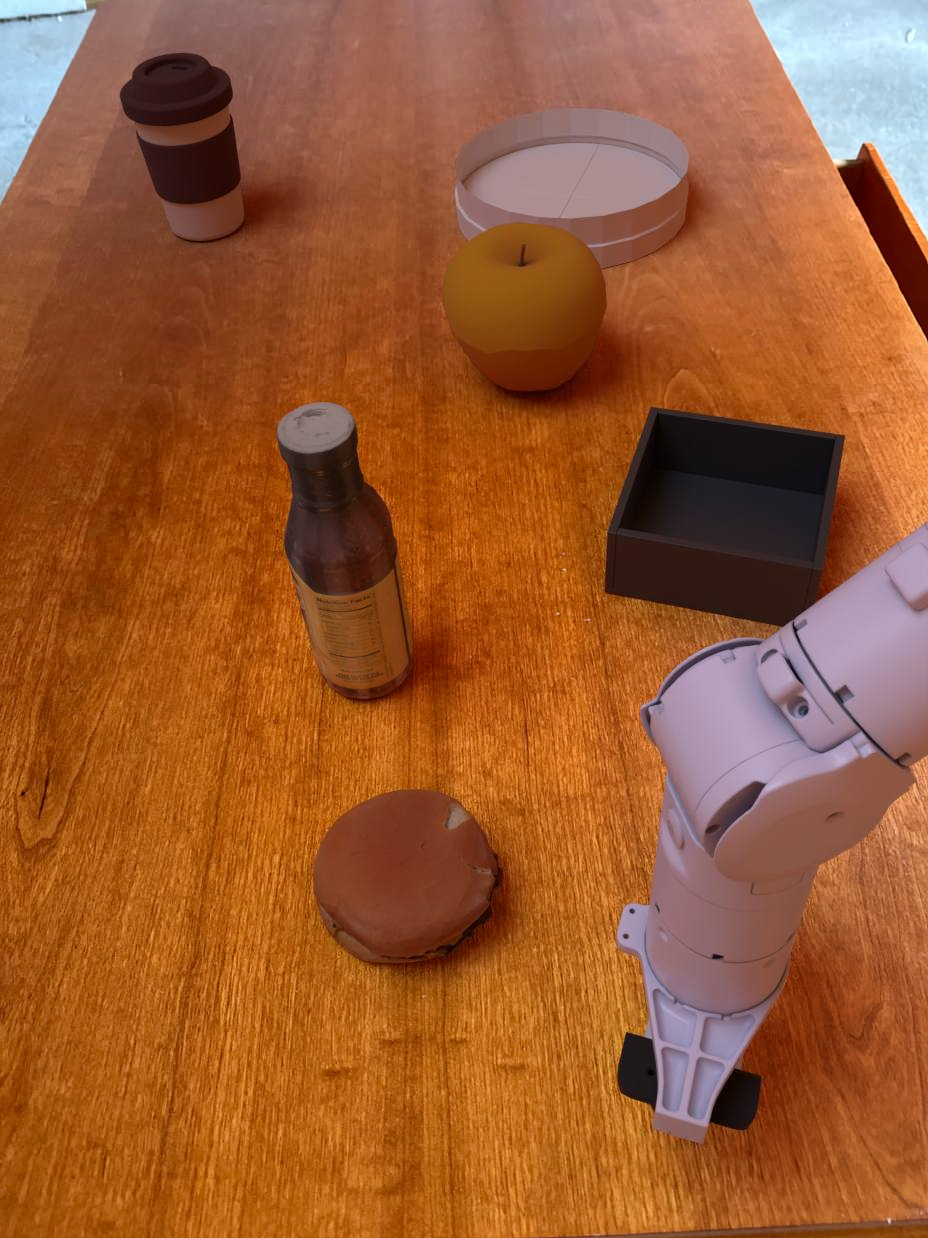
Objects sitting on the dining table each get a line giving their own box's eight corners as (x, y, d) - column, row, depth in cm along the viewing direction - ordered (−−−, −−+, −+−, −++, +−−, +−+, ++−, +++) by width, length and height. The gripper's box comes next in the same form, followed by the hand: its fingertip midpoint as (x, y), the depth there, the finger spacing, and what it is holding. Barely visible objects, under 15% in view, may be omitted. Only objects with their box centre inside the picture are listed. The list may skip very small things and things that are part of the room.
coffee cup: (185, 261, 107) (143, 101, 96) (141, 222, 113) (95, 66, 102) (277, 225, 111) (246, 67, 100) (229, 189, 117) (194, 35, 106)
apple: (506, 441, 87) (500, 310, 78) (416, 362, 94) (403, 235, 86) (638, 378, 91) (647, 248, 83) (542, 307, 99) (541, 181, 90)
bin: (830, 496, 81) (845, 434, 76) (808, 631, 72) (823, 570, 68) (646, 466, 84) (650, 406, 80) (604, 592, 76) (607, 532, 72)
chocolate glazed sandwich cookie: (284, 920, 61) (269, 876, 57) (384, 793, 66) (375, 745, 62) (439, 1013, 57) (433, 971, 53) (533, 870, 62) (532, 824, 59)
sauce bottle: (344, 621, 75) (293, 370, 60) (431, 644, 73) (400, 391, 59) (299, 695, 71) (232, 446, 56) (390, 721, 69) (346, 470, 55)
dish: (423, 254, 106) (418, 204, 102) (495, 146, 119) (493, 98, 116) (659, 284, 100) (663, 232, 96) (707, 167, 114) (712, 117, 110)
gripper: (661, 725, 49) (643, 882, 59) (579, 1042, 40) (573, 1165, 50) (829, 762, 48) (781, 917, 58) (782, 1102, 39) (735, 1216, 49)
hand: (694, 1035), depth 54 cm, fingers open, 7 cm apart
